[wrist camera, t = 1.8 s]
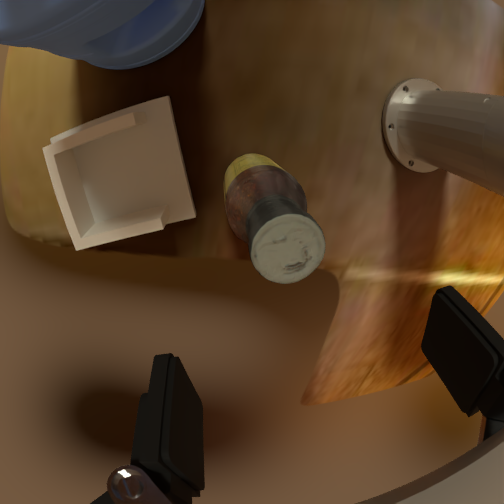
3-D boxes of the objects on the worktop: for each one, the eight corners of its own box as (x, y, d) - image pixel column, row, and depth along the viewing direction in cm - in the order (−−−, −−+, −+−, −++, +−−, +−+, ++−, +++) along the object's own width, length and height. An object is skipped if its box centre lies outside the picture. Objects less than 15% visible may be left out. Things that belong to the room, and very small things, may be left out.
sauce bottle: (271, 208, 35) (322, 315, 17) (218, 199, 34) (218, 304, 16) (284, 154, 32) (361, 213, 15) (229, 143, 31) (241, 188, 14)
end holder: (169, 96, 28) (159, 93, 23) (196, 213, 34) (192, 233, 29) (55, 137, 28) (29, 144, 23) (87, 240, 34) (69, 261, 29)
